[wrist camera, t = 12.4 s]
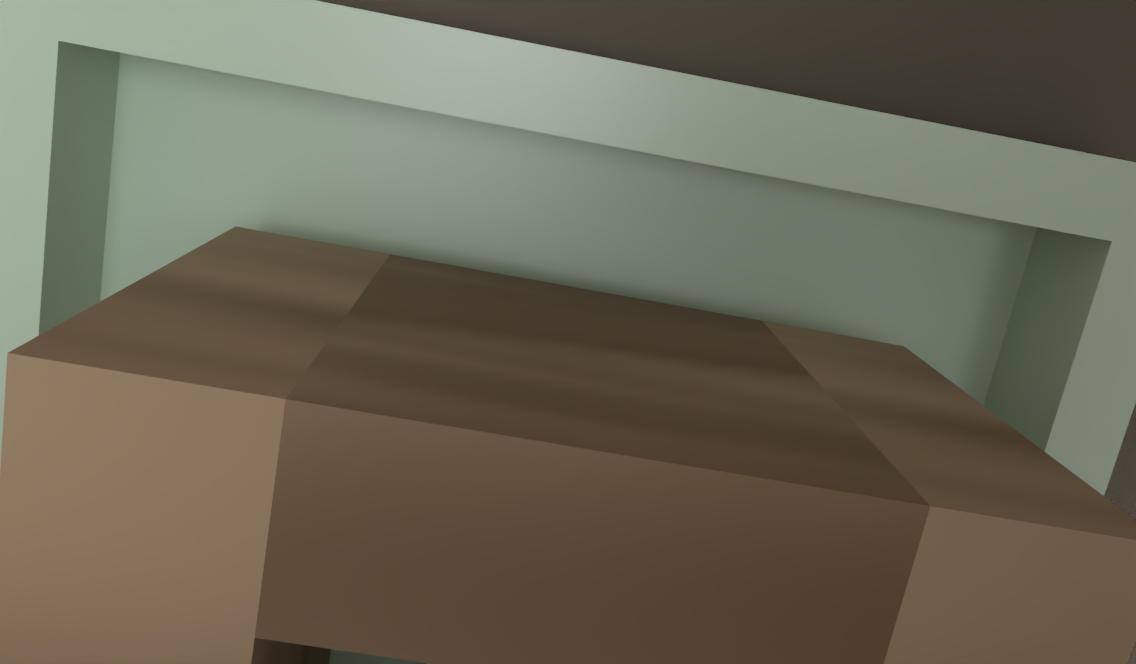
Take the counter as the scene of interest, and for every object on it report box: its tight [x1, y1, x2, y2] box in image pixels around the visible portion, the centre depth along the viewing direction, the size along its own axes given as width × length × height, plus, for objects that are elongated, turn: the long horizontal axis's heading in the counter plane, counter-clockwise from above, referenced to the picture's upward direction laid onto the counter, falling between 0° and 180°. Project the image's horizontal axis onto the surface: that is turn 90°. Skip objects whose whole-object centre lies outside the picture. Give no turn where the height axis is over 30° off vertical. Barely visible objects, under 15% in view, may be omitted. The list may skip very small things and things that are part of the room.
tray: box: [0, 0, 1136, 664], centre depth 15 cm, size 15×15×2 cm
